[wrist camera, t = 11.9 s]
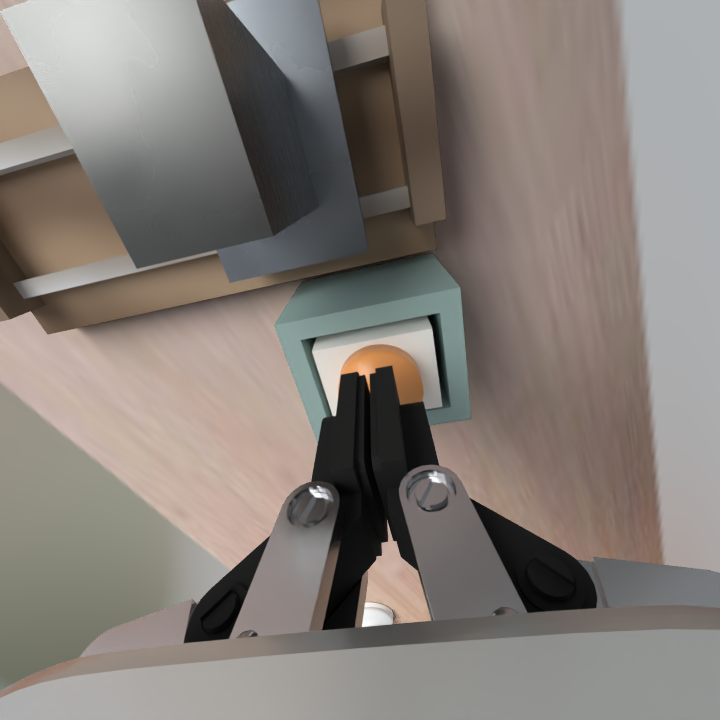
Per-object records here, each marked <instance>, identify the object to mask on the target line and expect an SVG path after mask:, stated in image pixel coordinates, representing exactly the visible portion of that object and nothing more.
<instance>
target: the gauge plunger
mask: <svg viewBox="0 0 720 720" xmlns="http://www.w3.org/2000/svg"><path fill="white" fill-rule="evenodd" d="M312 353H313V356H314V360H315V363H316V366H317V369H318V372H319V375H320V378H321V381H322V384H323V387H324V390H325V393H326V396H327V400H328V403H329V406H330V409H331V412H332V415H333V416H336V410H337V402H338V394H339V386H340V377H341V375H342V374H347V373H353V372H358V373H359V376H361V375H365V376H366V380H367V384H368V387H369V391H370V374H372V373H376V372H375V369H376V368H380V367H386V366H391V365H392V367H393V372H394V376H395V381H396V386H397V391H398V396H399V401H400V405H403V404H409V403H415V402H421V401H423V402H424V406H425V409H431V408H437V407H442V400H441V392H440V384H439V377H438V369H437V361H436V354H435V346H434V339H433V331H432V327H431V324H430V322H429V320H428V317H427V315H426V316H420V317H415V318H410V319H405V320H400V321H395V322H390V323H385V324H380V325H375V326H370V327H364V328H359V329H354V330H349V331H344V332H339V333H334V334H329V335H324V336H319V337H316V340H315V343H314V347H313V350H312Z"/></svg>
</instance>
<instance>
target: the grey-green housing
mask: <svg viewBox="0 0 720 720" xmlns="http://www.w3.org/2000/svg"><path fill="white" fill-rule="evenodd" d="M426 315H427V317H428V320H429V322H430V324H431V327H432V331H433V339H434V346H435V354H436V361H437V369H438V377H439V384H440V392H441V400H442V407H437V408H431V409H425V410H426V414H427V418H428V422H429V425H435V424H442V423H448V422H454V421H461V420H467V419H471V410H470V398H469V386H468V374H467V362H466V350H465V338H464V326H463V314H462V302H461V290H460V286H459V285H458V284H457V283H456V282H455V280H454V279H453V278H452V277H451V275H450V274H449V273H448V272H447V271H446V269H445V268H444V267H443V266H442V264H441V263H440V262H439V261H438V260H437V258H436V257H435V256H434V255H433V253H432V254H427V255H422V256H418V257H413V258H409V259H404V260H400V261H395V262H390V263H386V264H381V265H377V266H372V267H368V268H363V269H358V270H354V271H349V272H345V273H340V274H336V275H331V276H326V277H322V278H317V279H313V280H308V281H304V282H301V284H300V285H299V287H298V289H297V290H296V292H295V293H294V295H293V296H292V298H291V300H290V301H289V303H288V304H287V306H286V308H285V309H284V311H283V312H282V314H281V315H280V317H279V319H278V320H277V322H276V323H275V325H274V326H275V329H276V332H277V334H278V337H279V340H280V342H281V345H282V348H283V350H284V353H285V356H286V359H287V361H288V364H289V367H290V369H291V372H292V375H293V378H294V380H295V383H296V386H297V388H298V391H299V394H300V396H301V399H302V402H303V405H304V407H305V410H306V413H307V415H308V418H309V421H310V424H311V426H312V429H313V432H314V434H315V437H316V440H317V443H318V440H319V434H320V429H321V423H322V419H323V418H325V417H331V416H333V415H332V412H331V409H330V406H329V403H328V400H327V396H326V393H325V390H324V387H323V384H322V381H321V378H320V375H319V372H318V369H317V366H316V363H315V360H314V356H313V353H312V350H313V347H314V343H315V340H316V337H319V336H324V335H329V334H334V333H339V332H344V331H349V330H354V329H359V328H364V327H370V326H375V325H380V324H385V323H390V322H395V321H400V320H405V319H410V318H415V317H420V316H426Z"/></svg>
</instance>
